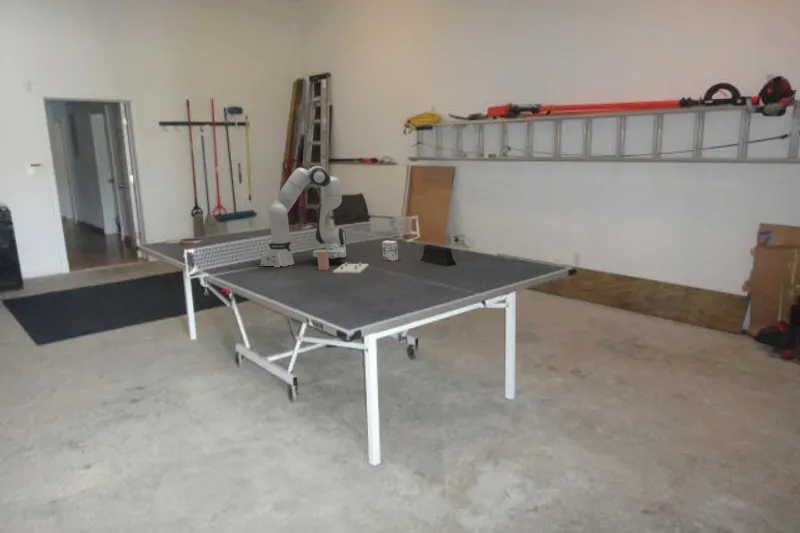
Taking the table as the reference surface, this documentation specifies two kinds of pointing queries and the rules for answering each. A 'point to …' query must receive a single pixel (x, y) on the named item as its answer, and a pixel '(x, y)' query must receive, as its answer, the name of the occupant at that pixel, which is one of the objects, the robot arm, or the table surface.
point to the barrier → (438, 255)
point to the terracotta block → (323, 260)
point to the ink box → (390, 250)
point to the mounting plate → (351, 268)
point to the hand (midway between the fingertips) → (325, 255)
